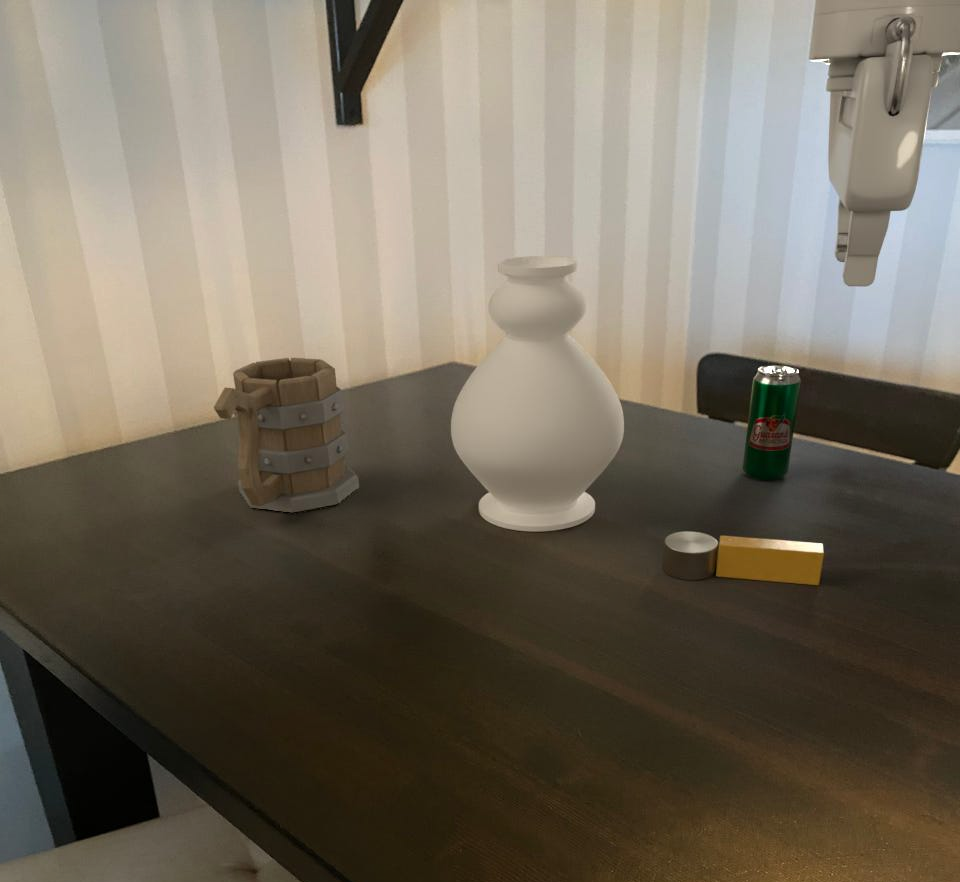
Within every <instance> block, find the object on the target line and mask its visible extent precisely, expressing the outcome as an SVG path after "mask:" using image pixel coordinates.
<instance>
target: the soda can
mask: <svg viewBox="0 0 960 882" xmlns="http://www.w3.org/2000/svg"><path fill="white" fill-rule="evenodd" d="M799 373H800V372H799V369H798V368H796V367H792V366H788V365H778V364H772V365H771V364H770V365H764V366H760V367H758V368H757V373H756V375H755V376H754V377H753V379H752V384H751V395H750V402H749V410H748V419H747V428H746V437H745V443H744V452H743V462H742V470H743V472H744V474H745V475H746V476H747V477H749V478H751V479H753V480H758V481H763V482H765V481H766V482H767V481H768V482H769V481H772V482H773V481H777V480H781V479H782V478H783V477H785V476H786V475H787V474H788V472H789V468H790V467H789V466H790V459H791V453H792V445H793V439H794V433H795V426H796V418H797V413H798V412H797V411H798V404H799V399H800V392H801V391H800V390H801V383H802V380H801V378H800V375H799Z"/></svg>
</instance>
